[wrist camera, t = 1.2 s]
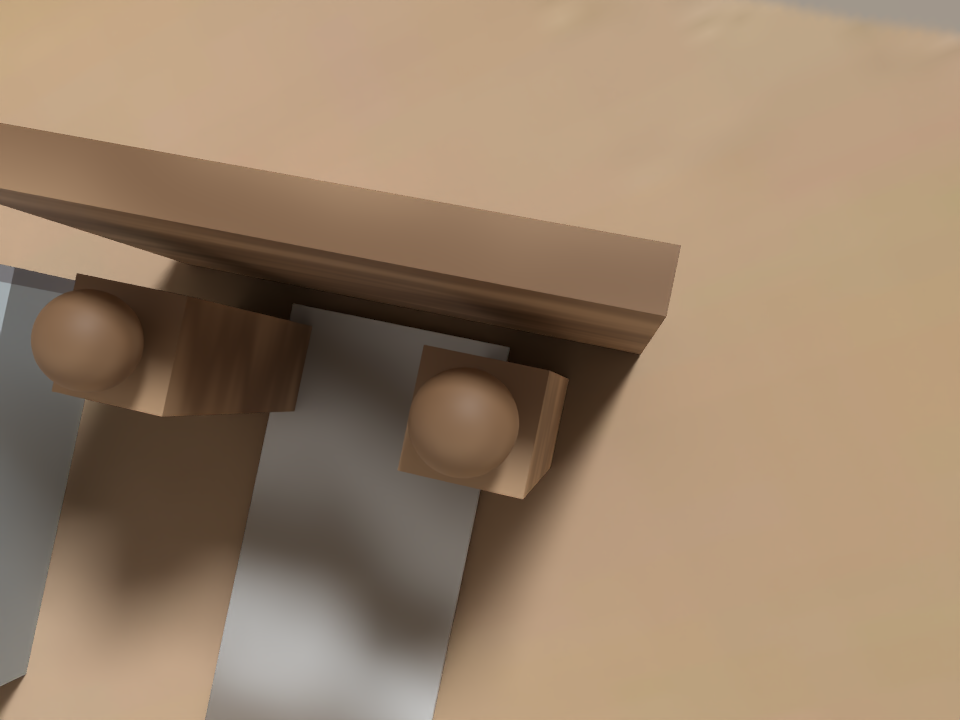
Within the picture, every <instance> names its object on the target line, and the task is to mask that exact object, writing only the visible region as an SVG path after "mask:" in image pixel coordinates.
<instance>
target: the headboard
mask: <svg viewBox="0 0 960 720" xmlns="http://www.w3.org/2000/svg"><path fill="white" fill-rule="evenodd" d="M0 204H1V205H4V206H7V207H10V208H14V209H17V210H20V211H23V212H26V213H29V214H32V215H36V216H39V217H42V218H45V219H48V220H51V221H54V222H57V223H61V224H64V225H67V226H70V227H73V228H76V229H79V230H83V231H86V232H89V233H92V234H95V235H98V236H101V237H105V238H108V239H111V240H114V241H117V242H120V243H123V244H127V245H130V246H133V247H136V248H139V249H142V250H145V251H149V252H152V253H155V254H158V255H161V256H164V257H167V258H170V259H174V260H177V261H180V262H183V263H186V264H191V265H196V266H201V267H206V268H211V269H216V270H221V271H226V272H231V273H236V274H241V275H246V276H251V277H256V278H261V279H266V280H271V281H276V282H281V283H286V284H291V285H296V286H301V287H306V288H311V289H316V290H321V291H326V292H331V293H336V294H341V295H346V296H351V297H356V298H361V299H366V300H371V301H376V302H381V303H386V304H391V305H396V306H401V307H406V308H411V309H416V310H421V311H426V312H431V313H436V314H441V315H446V316H451V317H456V318H461V319H466V320H471V321H476V322H481V323H486V324H491V325H496V326H501V327H506V328H511V329H516V330H521V331H526V332H531V333H536V334H541V335H546V336H551V337H556V338H561V339H566V340H571V341H576V342H581V343H586V344H591V345H596V346H601V347H606V348H611V349H616V350H621V351H626V352H631V353H636V354H641V353H642V352H643V350H644V349H645V347H646V346H647V344H648V343H649V341H650V340H651V338H652V337H653V335H654V334H655V332H656V331H657V329H658V328H659V326H660V325H661V324H662V322H663V321H664V319H665V318H666V316H667V311H668V306H669V301H670V296H671V291H672V287H673V282H674V277H675V272H676V267H677V262H678V257H679V253H680V248H681V245H675V244H670V243H664V242H659V241H653V240H648V239H642V238H637V237H631V236H626V235H620V234H614V233H609V232H603V231H598V230H592V229H587V228H581V227H576V226H570V225H564V224H559V223H553V222H548V221H542V220H537V219H531V218H526V217H520V216H514V215H509V214H503V213H498V212H492V211H487V210H481V209H476V208H470V207H464V206H459V205H453V204H448V203H442V202H437V201H431V200H426V199H420V198H414V197H409V196H403V195H398V194H392V193H387V192H381V191H376V190H370V189H364V188H359V187H353V186H348V185H342V184H337V183H331V182H326V181H320V180H314V179H309V178H303V177H298V176H292V175H287V174H281V173H276V172H270V171H264V170H259V169H253V168H248V167H242V166H237V165H231V164H226V163H220V162H214V161H209V160H203V159H198V158H192V157H187V156H181V155H176V154H170V153H164V152H159V151H153V150H148V149H142V148H137V147H131V146H126V145H120V144H114V143H109V142H103V141H98V140H92V139H87V138H81V137H76V136H70V135H64V134H59V133H53V132H48V131H42V130H37V129H31V128H26V127H20V126H14V125H9V124H3V123H0ZM31 348H32V353H33V356H34V359H35V361H36V363H37V365H38V366H39V368H40V369H41V371H42V372H43V373H44V374H45V375H46V376H47V377H48V378H49V379H50V380H52V381H53V382H54V383H53V387H52V392H57V393H61V394H65V395H70V396H74V397H78V398H83V399H87V400H92V401H96V402H100V403H105V404H109V405H113V406H118V407H122V408H126V409H131V410H135V411H140V412H144V413H148V414H153V415H157V416H161V417H166V416H191V415H216V414H241V413H266V412H270V415H269V419H268V424H267V429H266V434H265V438H264V443H263V448H262V452H261V457H260V462H259V467H258V471H257V476H256V481H255V486H254V490H253V495H252V500H251V505H250V509H249V514H248V519H247V523H246V528H245V533H244V538H243V542H242V547H241V552H240V557H239V561H238V566H237V571H236V576H235V580H234V585H233V590H232V594H231V599H230V604H229V609H228V613H227V618H226V623H225V628H224V632H223V637H222V642H221V646H220V651H219V656H218V661H217V665H216V670H215V675H214V680H213V684H212V689H211V694H210V699H209V703H208V708H207V713H206V717H205V720H433V716H434V712H435V707H436V702H437V697H438V692H439V688H440V683H441V678H442V673H443V668H444V663H445V659H446V654H447V649H448V644H449V639H450V635H451V630H452V625H453V620H454V615H455V611H456V606H457V601H458V596H459V591H460V587H461V582H462V577H463V572H464V567H465V562H466V558H467V553H468V548H469V543H470V538H471V534H472V529H473V524H474V519H475V514H476V510H477V505H478V500H479V495H480V490H484V491H489V492H493V493H498V494H502V495H506V496H511V497H515V498H519V499H524V498H525V496H526V495H527V494H528V493H529V492H530V491H531V490H532V488H533V487H534V486H535V485H536V484H537V483H538V481H539V480H540V479H541V478H542V477H543V476H544V475H545V473H546V472H547V471H548V470H549V469H550V468H551V463H552V458H553V453H554V449H555V444H556V439H557V434H558V429H559V425H560V420H561V415H562V410H563V405H564V400H565V396H566V391H567V386H568V381H569V379H567V378H565V377H563V376H560V375H558V374H556V373H554V372H552V371H550V370H545V369H540V368H535V367H530V366H525V365H521V364H516V363H511V362H507V361H508V356H509V351H510V347H505V346H500V345H495V344H490V343H486V342H481V341H476V340H471V339H466V338H461V337H456V336H451V335H446V334H441V333H436V332H431V331H426V330H422V329H417V328H412V327H407V326H402V325H397V324H392V323H387V322H382V321H377V320H372V319H367V318H362V317H358V316H353V315H348V314H343V313H338V312H333V311H328V310H323V309H318V308H313V307H308V306H303V305H298V304H294V303H293V306H292V310H291V315H290V320H289V321H288V320H284V319H280V318H276V317H272V316H268V315H264V314H260V313H256V312H251V311H247V310H243V309H239V308H235V307H231V306H227V305H223V304H218V303H214V302H210V301H206V300H202V299H198V298H194V297H190V296H185V295H180V294H175V293H171V292H166V291H161V290H156V289H151V288H146V287H141V286H136V285H132V284H127V283H122V282H117V281H112V280H107V279H102V278H98V277H93V276H88V275H83V274H78V273H77V275H76V280H75V285H74V289H73V291H69V292H66V293H64V294H62V295H59V296H57V297H56V298H54V299H53V300H51V301H50V302H49V303H48V304H47V305H46V306H45V307H44V308H43V309H42V310H41V311H40V313H39V314H38V316H37V318H36V320H35V322H34V325H33V328H32V332H31Z"/></svg>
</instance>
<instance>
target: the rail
mask: <svg viewBox="0 0 960 720" xmlns="http://www.w3.org/2000/svg"><path fill="white" fill-rule="evenodd" d="M74 285H75V280H70V279H66V278H61V277H57V276H52V275H47V274H43V273H38V272H34V271H29V270H25V269H20V268H16V267H11V266H6V265H1V264H0V686H2V685H4V684H6V683H8V682H10V681H13V680H15V679H17V678H19V677H21V676H23V675H25V674H26V672H27V667H28V662H29V658H30V653H31V648H32V644H33V639H34V634H35V630H36V625H37V620H38V616H39V611H40V606H41V602H42V597H43V592H44V588H45V583H46V578H47V574H48V569H49V564H50V560H51V555H52V550H53V546H54V541H55V536H56V532H57V527H58V522H59V518H60V513H61V508H62V504H63V499H64V494H65V490H66V485H67V480H68V476H69V471H70V466H71V462H72V457H73V452H74V448H75V443H76V438H77V434H78V429H79V424H80V419H81V415H82V410H83V405H84V401H85V399H83V398H78V397H74V396H70V395H65V394H61V393H57V392H52V387H53V383H54V382H53V381H52V380H50V379H49V378H48V377H47V376H46V375H45V374H44V373H43V372H42V371H41V369H40V368H39V366H38V365H37V363H36V361H35V359H34V356H33V353H32V348H31V332H32V328H33V325H34V322H35V320H36V318H37V316H38V314H39V313H40V311H41V310H42V309H43V308H44V307H45V306H46V305H47V304H48V303H49V302H50V301H51V300H53V299H54V298H56V297H57V296H59V295H62V294H64V293H66V292H69V291H73V289H74Z"/></svg>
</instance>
